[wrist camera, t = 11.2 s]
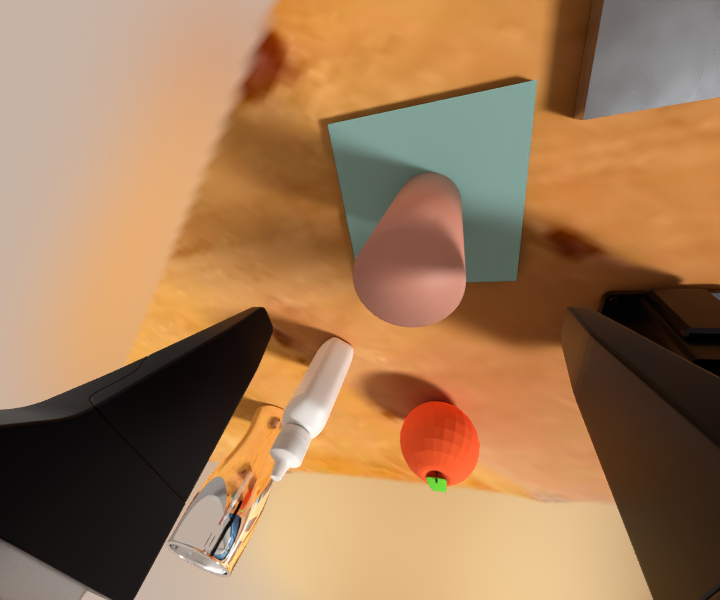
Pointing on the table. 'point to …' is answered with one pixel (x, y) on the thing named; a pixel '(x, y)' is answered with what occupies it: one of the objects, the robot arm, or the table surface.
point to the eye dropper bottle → (310, 405)
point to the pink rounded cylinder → (415, 255)
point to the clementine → (439, 444)
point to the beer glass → (230, 500)
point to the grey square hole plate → (648, 55)
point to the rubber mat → (445, 168)
